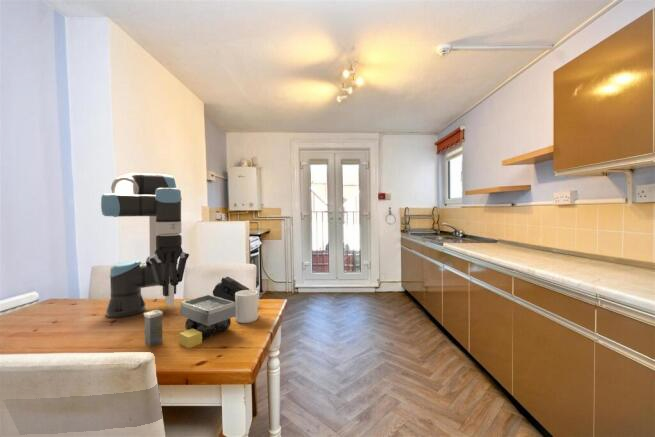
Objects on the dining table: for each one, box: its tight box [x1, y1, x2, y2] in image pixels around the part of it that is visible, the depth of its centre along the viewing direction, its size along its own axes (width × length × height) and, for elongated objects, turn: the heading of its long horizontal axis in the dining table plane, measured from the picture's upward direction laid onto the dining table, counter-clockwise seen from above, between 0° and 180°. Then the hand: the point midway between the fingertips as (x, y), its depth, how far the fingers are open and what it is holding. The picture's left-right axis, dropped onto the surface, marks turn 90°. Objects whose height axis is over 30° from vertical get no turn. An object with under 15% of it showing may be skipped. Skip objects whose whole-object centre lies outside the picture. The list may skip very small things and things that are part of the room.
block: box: [178, 328, 203, 349], centre depth 103 cm, size 6×5×4 cm
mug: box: [235, 289, 259, 324], centre depth 127 cm, size 10×12×12 cm
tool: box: [212, 276, 251, 302], centre depth 142 cm, size 6×19×15 cm
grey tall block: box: [143, 309, 164, 347], centre depth 103 cm, size 4×4×11 cm
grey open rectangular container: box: [180, 294, 236, 339], centre depth 113 cm, size 18×13×12 cm
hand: (169, 304), depth 97 cm, fingers closed
